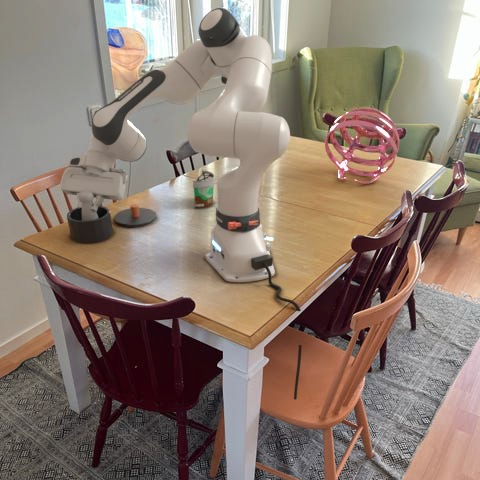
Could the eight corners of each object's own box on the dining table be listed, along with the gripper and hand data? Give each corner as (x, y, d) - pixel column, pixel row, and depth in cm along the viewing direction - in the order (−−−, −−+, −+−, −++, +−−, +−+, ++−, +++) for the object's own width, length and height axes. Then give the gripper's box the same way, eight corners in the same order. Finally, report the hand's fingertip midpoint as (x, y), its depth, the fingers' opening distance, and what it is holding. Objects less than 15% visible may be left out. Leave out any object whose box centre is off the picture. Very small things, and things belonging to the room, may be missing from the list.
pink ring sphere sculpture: (374, 145, 161) (398, 86, 169) (303, 151, 178) (327, 96, 186) (395, 198, 182) (415, 143, 190) (330, 199, 199) (351, 148, 207)
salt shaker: (92, 238, 145) (84, 197, 138) (79, 234, 148) (70, 193, 140) (106, 231, 149) (99, 191, 142) (93, 227, 152) (85, 187, 144)
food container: (211, 211, 164) (210, 183, 158) (194, 210, 165) (192, 181, 159) (219, 198, 174) (219, 171, 168) (203, 197, 175) (202, 169, 169)
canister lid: (159, 225, 154) (158, 211, 152) (116, 230, 151) (113, 216, 149) (154, 209, 165) (152, 196, 162) (113, 213, 162) (111, 200, 159)
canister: (114, 240, 145) (111, 219, 141) (71, 245, 142) (66, 223, 138) (111, 224, 155) (108, 203, 151) (71, 228, 152) (67, 207, 148)
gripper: (133, 175, 146) (122, 217, 144) (74, 169, 151) (63, 210, 149) (124, 165, 140) (113, 209, 138) (63, 158, 145) (51, 201, 143)
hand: (86, 209), depth 143 cm, fingers closed on salt shaker, 3 cm apart
